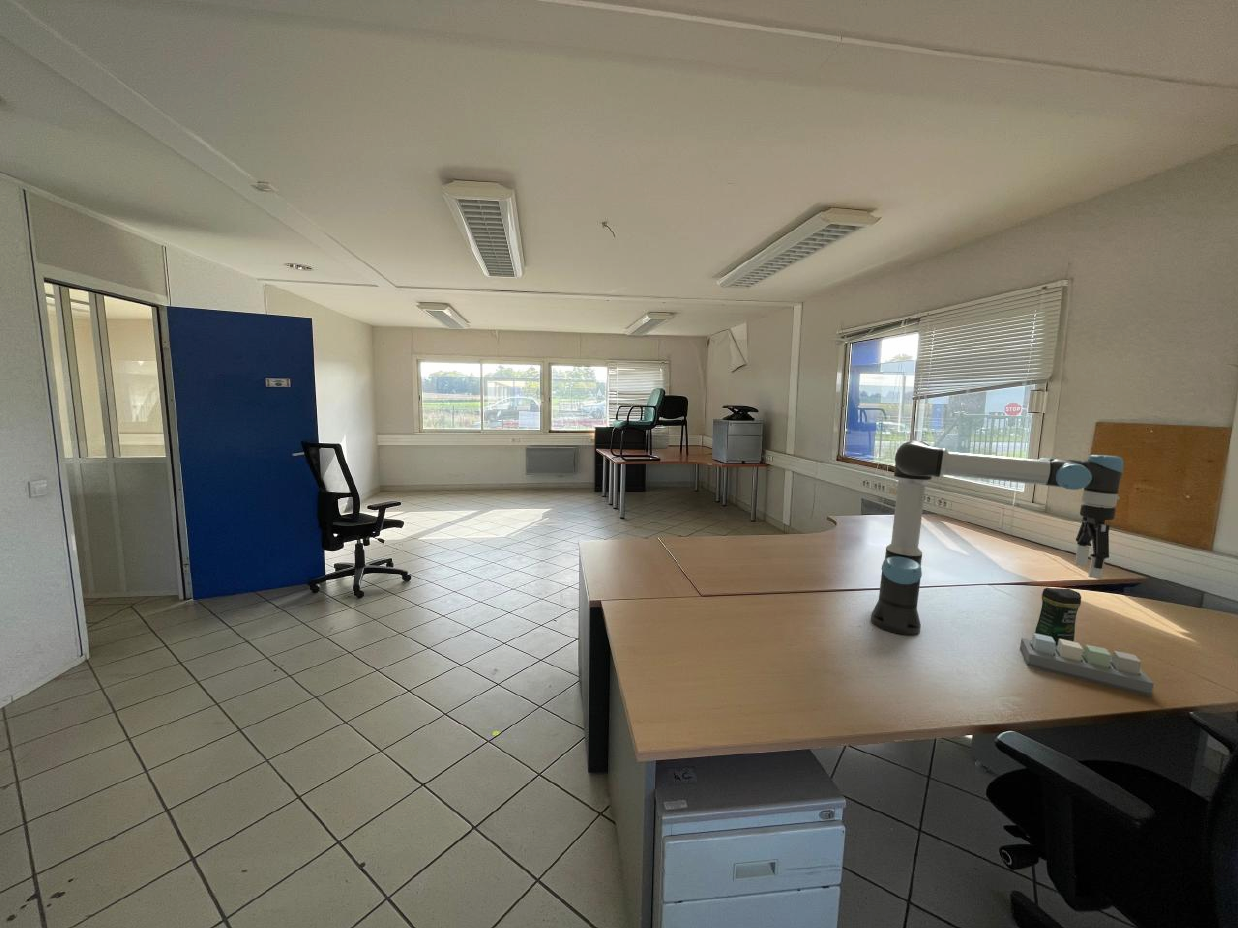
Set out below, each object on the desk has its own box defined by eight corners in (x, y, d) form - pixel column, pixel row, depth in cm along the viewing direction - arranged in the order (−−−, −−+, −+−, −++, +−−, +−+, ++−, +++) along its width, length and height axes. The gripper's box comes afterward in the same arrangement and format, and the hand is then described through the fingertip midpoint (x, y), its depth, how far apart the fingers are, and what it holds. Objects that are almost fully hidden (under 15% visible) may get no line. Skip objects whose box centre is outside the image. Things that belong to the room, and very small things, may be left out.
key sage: (1088, 663, 137) (1090, 650, 137) (1083, 656, 141) (1085, 644, 140) (1108, 668, 135) (1111, 655, 134) (1103, 661, 138) (1105, 648, 138)
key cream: (1060, 656, 140) (1062, 644, 140) (1056, 650, 144) (1058, 638, 143) (1080, 661, 138) (1082, 648, 137) (1076, 655, 142) (1078, 642, 141)
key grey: (1116, 670, 134) (1119, 657, 133) (1111, 663, 138) (1113, 650, 137) (1138, 675, 132) (1141, 661, 131) (1132, 667, 135) (1134, 655, 135)
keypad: (1027, 666, 142) (1029, 653, 141) (1019, 649, 152) (1021, 637, 151) (1151, 696, 128) (1153, 683, 127) (1133, 675, 138) (1135, 663, 138)
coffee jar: (1051, 647, 154) (1060, 593, 151) (1029, 635, 161) (1037, 584, 159) (1079, 647, 154) (1088, 594, 152) (1055, 635, 162) (1064, 584, 159)
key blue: (1034, 650, 143) (1036, 638, 143) (1031, 644, 147) (1033, 632, 146) (1053, 655, 141) (1055, 642, 140) (1049, 648, 145) (1051, 636, 144)
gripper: (1132, 514, 132) (1119, 586, 134) (1100, 500, 153) (1090, 562, 156) (1095, 510, 135) (1084, 580, 138) (1069, 497, 157) (1060, 558, 159)
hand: (1087, 571), depth 147 cm, fingers open, 13 cm apart
